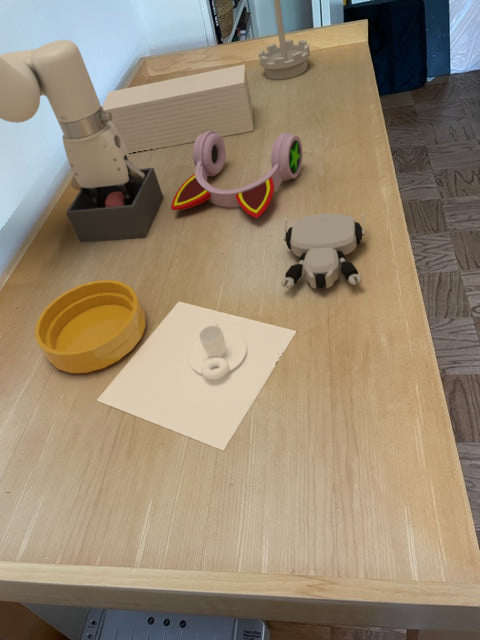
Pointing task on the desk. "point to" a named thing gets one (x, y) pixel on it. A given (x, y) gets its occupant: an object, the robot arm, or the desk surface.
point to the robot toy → (323, 249)
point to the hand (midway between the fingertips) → (121, 213)
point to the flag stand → (284, 53)
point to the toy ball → (114, 199)
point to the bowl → (91, 326)
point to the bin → (117, 213)
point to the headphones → (249, 197)
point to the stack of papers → (182, 109)
